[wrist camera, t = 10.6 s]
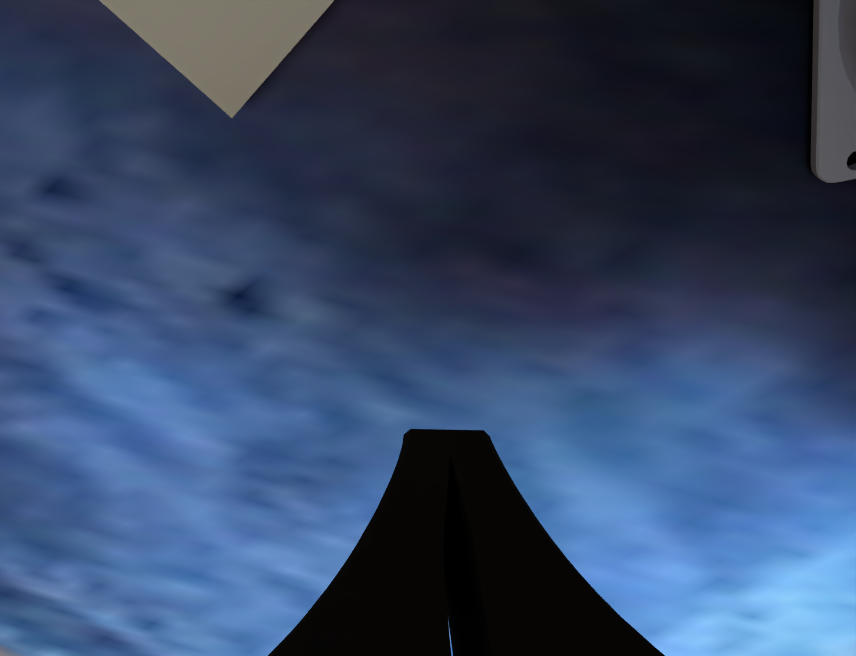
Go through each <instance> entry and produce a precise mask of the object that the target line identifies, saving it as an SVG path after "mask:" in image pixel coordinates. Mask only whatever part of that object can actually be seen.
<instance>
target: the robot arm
mask: <svg viewBox="0 0 856 656" xmlns="http://www.w3.org/2000/svg"><path fill="white" fill-rule="evenodd" d="M855 151H856V0H814V12H813V66H812V119H811V169H812V172H813V173H814V174H815V176H816V177H818V178H819V179H821V180H822V181H825V182H827V183H836V182H841V181H846V180H851V179H856V163H855V164H852V165H850V166H847V163H846V162H847V159H848V157H849V156H850V155H851V153H852V152H855ZM448 621H449V625H448ZM449 628H450V636H451V644H452V651H453V656H665V655H664V654H662V653H661V652H660V651H659V650H658V649H656V648H655V647H654V646H653V645H652V644H651V643H650V642H649V641H647V640H646V639H645V638H644V637H643V636H642V635H641V634H640V633H638V632H637V631H636V630H635V629H634V628H633V627H632V626H631V625H630V624H628V623H627V622H626V621H625V620H624V619H623V618H622V617H621V616H620V615H618V613H617V612H616V611H615V610H614V609H613V608H612V607H611V606H610V605H609V604H608V603H607V602H606V601H605V600H604V599H603V598H602V597H601V596H600V595H599V594H598V593H597V592H596V591H595V590H594V589H593V588H592V587H591V585H590V584H589V583H588V582H587V581H586V580H585V579H584V578H583V577H582V576H581V574H580V573H579V572H578V571H577V570H576V569H575V567H574V566H573V565H572V564H571V563H570V561H569V560H568V559H567V558H566V557H565V555H564V554H563V553H562V552H561V550H560V549H559V548H558V546H557V545H556V544H555V542H554V541H553V540H552V539H551V537H550V536H549V535H548V533H547V532H546V531H545V529H544V528H543V526H542V525H541V524H540V522H539V521H538V519H537V518H536V516H535V515H534V513H533V512H532V510H531V509H530V507H529V506H528V504H527V503H526V501H525V500H524V498H523V497H522V495H521V494H520V492H519V491H518V489H517V487H516V486H515V484H514V482H513V481H512V479H511V477H510V476H509V474H508V472H507V470H506V469H505V467H504V465H503V463H502V461H501V459H500V457H499V455H498V453H497V452H496V449H495V447H494V445H493V443H492V441H491V438H490V436H489V435H488V434H487V433H486V432H485V431H484V430H435V429H410V430H409V431H408V432H406V433H405V434H404V437H403V444H402V448H401V452H400V455H399V459H398V462H397V464H396V467H395V470H394V472H393V475H392V477H391V480H390V482H389V484H388V486H387V488H386V491H385V493H384V495H383V497H382V499H381V501H380V503H379V505H378V508H377V510H376V511H375V513H374V515H373V517H372V519H371V520H370V522H369V524H368V526H367V527H366V529H365V531H364V533H363V534H362V536H361V538H360V540H359V541H358V543H357V545H356V546H355V548H354V550H353V551H352V553H351V554H350V556H349V557H348V559H347V561H346V562H345V563H344V565H343V566H342V568H341V569H340V571H339V572H338V574H337V575H336V576H335V578H334V579H333V581H332V582H331V583H330V585H329V586H328V587H327V589H326V590H325V591H324V593H323V594H322V595H321V596H320V598H319V599H318V600H317V601H316V603H315V604H314V605H313V606H312V608H311V609H310V610H309V611H308V613H307V614H306V615H305V616H304V617H303V619H302V620H301V621H300V622H299V623H298V624H297V626H296V627H295V628H294V629H293V630H292V631H291V632H290V633H289V634H288V635H287V636H286V638H285V639H284V640H283V641H282V642H281V643H280V644H279V645H278V646H277V647H276V648H275V649H274V650H273V651H272V652H271V653H270V654H269V655H268V656H451V647H450V637H449Z"/></svg>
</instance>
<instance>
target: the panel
mask: <svg viewBox="0 0 856 656" xmlns="http://www.w3.org/2000/svg"><path fill="white" fill-rule="evenodd" d="M100 1H101V2H102V3H103V4H104V5H105V6H106V7H107V8H109V9H110V10H111V11H112V12H113V13H114V14H115V15H116V16H118V17H119V18H120V19H121V20H122V21H123V22H124V23H125V24H127V25H128V26H129V27H130V28H131V29H132V30H133V31H134V32H136V33H137V34H138V35H139V36H140V37H141V38H142V39H143V40H145V41H146V42H147V43H148V44H149V45H150V46H151V47H152V48H154V49H155V50H156V51H157V52H158V53H159V54H160V55H161V56H163V57H164V58H165V59H166V60H167V61H168V62H169V63H170V64H172V65H173V66H174V67H175V68H176V69H177V70H178V71H179V72H181V73H182V74H183V75H184V76H185V77H186V78H187V79H188V80H190V81H191V82H192V83H193V84H194V85H195V86H196V87H197V88H199V89H200V90H201V91H202V92H203V93H204V94H205V95H206V96H208V97H209V98H210V99H211V100H212V101H213V102H214V103H215V104H217V105H218V106H219V107H220V108H221V109H222V110H223V111H224V112H226V113H227V114H228V115H229V116H230V117H231V118H233V116H234V115H235V114H236V113H237V112H238V111H239V109H240V108H241V107H242V106H243V105H244V104H245V103H246V101H247V100H248V99H249V98H250V97H251V96H252V94H253V93H254V92H255V91H256V90H257V89H258V88H259V86H260V85H261V84H262V83H263V82H264V81H265V80H266V78H267V77H268V76H269V75H270V74H271V73H272V71H273V70H274V69H275V68H276V67H277V66H278V65H279V63H280V62H281V61H282V60H283V59H284V58H285V57H286V55H287V54H288V53H289V52H290V51H291V50H292V48H293V47H294V46H295V45H296V44H297V43H298V42H299V40H300V39H301V38H302V37H303V36H304V35H305V33H306V32H307V31H308V30H309V29H310V28H311V27H312V25H313V24H314V23H315V22H316V21H317V20H318V19H319V17H320V16H321V15H322V14H323V13H324V12H325V10H326V9H327V8H328V7H329V6H330V5H331V4H332V2H333V1H334V0H100Z"/></svg>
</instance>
